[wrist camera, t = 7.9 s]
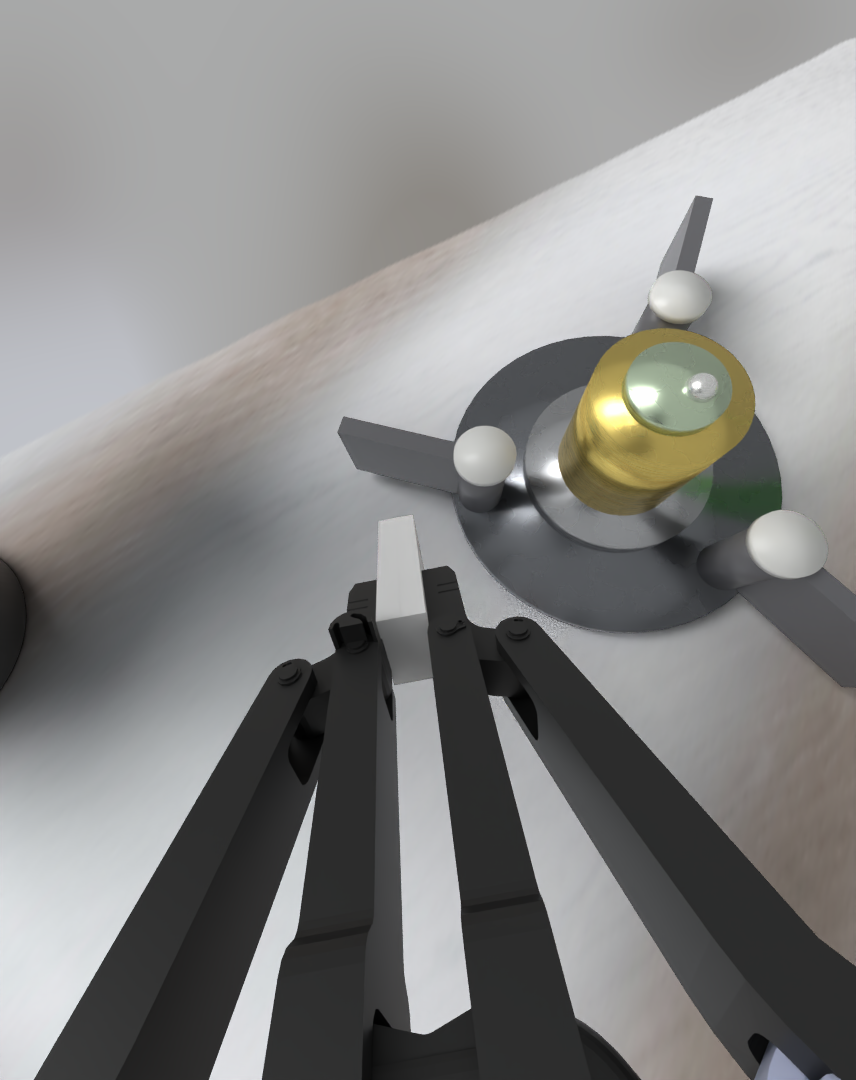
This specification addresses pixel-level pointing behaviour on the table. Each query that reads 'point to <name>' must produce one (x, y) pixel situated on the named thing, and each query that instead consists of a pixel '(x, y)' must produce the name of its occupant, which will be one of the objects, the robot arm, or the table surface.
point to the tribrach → (621, 477)
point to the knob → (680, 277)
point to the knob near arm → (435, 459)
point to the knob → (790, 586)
